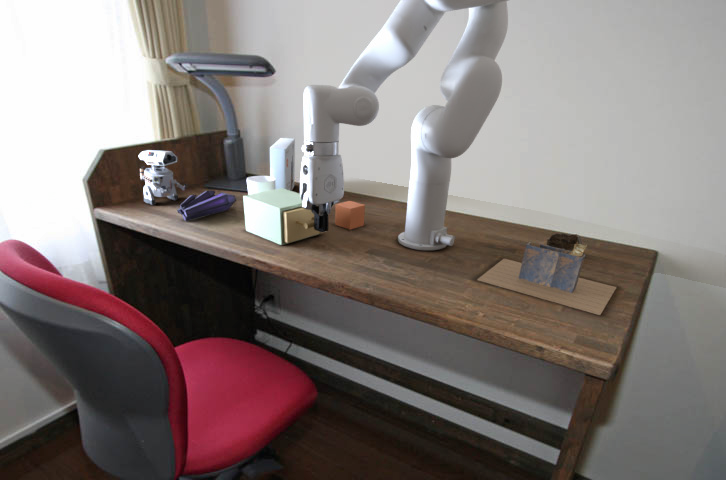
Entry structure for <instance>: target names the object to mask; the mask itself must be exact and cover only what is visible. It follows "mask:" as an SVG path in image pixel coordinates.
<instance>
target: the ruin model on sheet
mask: <svg viewBox="0 0 726 480" xmlns="http://www.w3.org/2000/svg"><path fill="white" fill-rule="evenodd" d="M577 243H578V242H577ZM587 246H588V244H582V245H581V244H575V246H574V249H573V251H568V250H564V249H559V248H555V247H551V246H548V245H547V244H543V243H541V244H539V246H535V245H532V241H529V242H528V243H527V244H525V249H524V253H523V257H522V261H521V262H519V261H517V260H516V261H515V260H512V259H508V258H502V259H501V260H500V261H499V262H497V263H496V264H494V266H493V267H491V268H489V269H488V270H487V271H486V272H485V273H484V274H482V275H481V276H479V277H478V278H476V281H478V282H483V283H485V284H489V285H492V286H496V287H500V288H504V289H507V290H511V291H514V292H518V293H520V294H524V295H528V296H531V297H535V298H539V299H542V300H545V301H549V302H552V303H556V304H559V305H563V306H566V307H569V308H573V309H576V310H580V311H584V312H588V313H590V314H594V315H597V316H601V315H602V313H603V311H604V310H605V308H606V307H607V305H608V303H609V301H610V300H611V298H612V297H613V294H614V293H615V291H616V289H617V288H618V287H617V286H615V285H610V284H606V283H602V282H599V281H595V280H590V279H586V278H583V277H580V275H581V271H582V269H583V266H584V261H585V258H586V256H587V255H586V254H585V251H586V249H587Z"/></svg>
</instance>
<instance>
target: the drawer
mask: <svg viewBox="0 0 726 480" xmlns="http://www.w3.org/2000/svg"><path fill="white" fill-rule="evenodd" d="M317 206H318V205H317ZM283 233H284V242H286V243H288V244H290V243H289V242H291V243H294V242H293V241H295V242H297V241H296V240H298V241H301V240H300V239H302V240H304V239H303V238H305V239H307V238H306V237H308V238H311V237H310V236H312V237H314V236H313V235H315V236H318V235H317V234H319V235H320V234H323V232H320V231H317V230H315V229H314V214H313V213H312V211H311V210H307V209H304V208H302V207H298V208H294V209H289V210H285V211H283Z"/></svg>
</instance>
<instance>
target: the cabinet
mask: <svg viewBox="0 0 726 480" xmlns="http://www.w3.org/2000/svg"><path fill="white" fill-rule="evenodd" d="M242 199H243V211H244V213H243V214H244V224H245V231H246V232H248V233H250V234H253V235H255V236H257V237H261V238H262V239H265V240H267V241H270V242H272V243H275V244H277V245H280V246H285V245H287V244H292V243H295V242H298V241H301V240H304V239H309V238H311V237H316V236H319V235H320V234H317V235H313V236H310V237H306V238H303V239H300V240H296V241H293V242H289V243H286V242H284V233H283V211H285V210H289V209H294V208H298V207H302V205H303V201H302V200H301V197H300V192H296V191H293V190H292V191H290V190H286V189H283V188H281V189H275V190H270V191H265V192H260V193H255V194H250V195H248V194H246V195H242Z"/></svg>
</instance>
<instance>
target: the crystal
mask: <svg viewBox="0 0 726 480" xmlns="http://www.w3.org/2000/svg"><path fill="white" fill-rule="evenodd" d="M235 202H237V198H236V195H234V194H229V193H227V192H224V191H223V192H219V193H217V194H216V190H205V191H203V192H201V193H199V195H197V194H191V195H189V196H188V197H187V198H186V199H185V200H184V201H183V202H181V204H180V205H179V206H180V207H179V208H177V209H176V211H177V213H178V214H179V215H181V216H182V219H183V220H184V221H185V222H188V221H193V220H196V219H198V218H203V217H207V216H210V215H214V214H218V213H222V212H226V211H229V210H230V208H231V207H233V205H234V204H235Z"/></svg>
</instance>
